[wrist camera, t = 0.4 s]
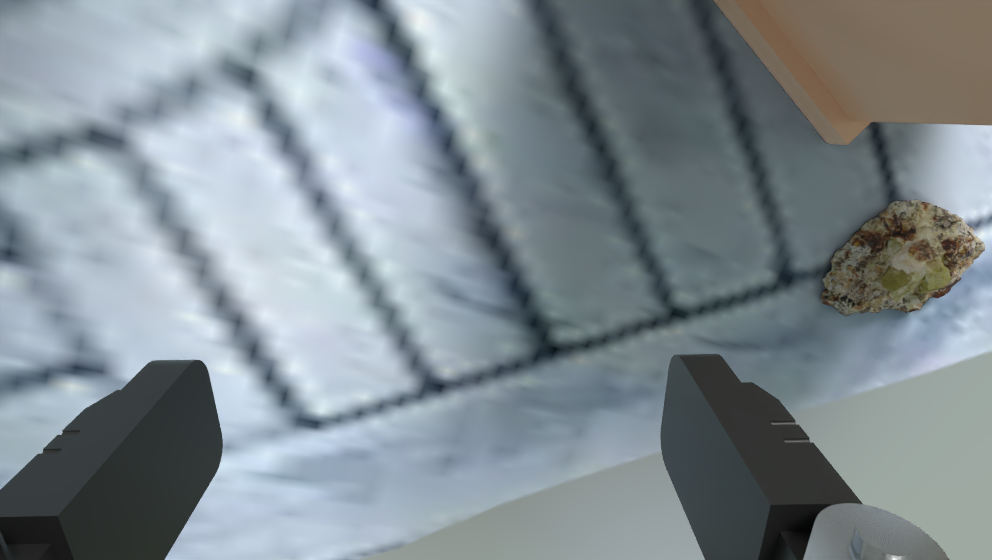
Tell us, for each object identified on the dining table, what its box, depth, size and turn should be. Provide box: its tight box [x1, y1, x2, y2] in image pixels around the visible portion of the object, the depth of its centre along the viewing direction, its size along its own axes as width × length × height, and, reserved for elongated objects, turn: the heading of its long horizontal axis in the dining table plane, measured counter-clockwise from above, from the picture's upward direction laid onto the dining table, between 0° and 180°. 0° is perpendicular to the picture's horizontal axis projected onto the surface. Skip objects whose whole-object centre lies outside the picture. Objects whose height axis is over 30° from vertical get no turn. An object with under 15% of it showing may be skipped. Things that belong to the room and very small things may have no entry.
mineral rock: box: [821, 199, 985, 316], centre depth 40 cm, size 11×4×8 cm
